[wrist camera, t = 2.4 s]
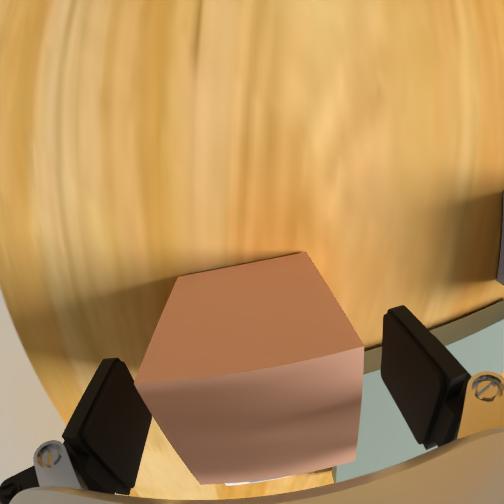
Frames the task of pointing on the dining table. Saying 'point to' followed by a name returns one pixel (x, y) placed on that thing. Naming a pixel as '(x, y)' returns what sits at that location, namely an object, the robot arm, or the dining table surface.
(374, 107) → the dining table surface
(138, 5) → the dining table surface
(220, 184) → the dining table surface
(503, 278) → the brick
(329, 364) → the brick
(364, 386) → the baseplate
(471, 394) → the robot arm
